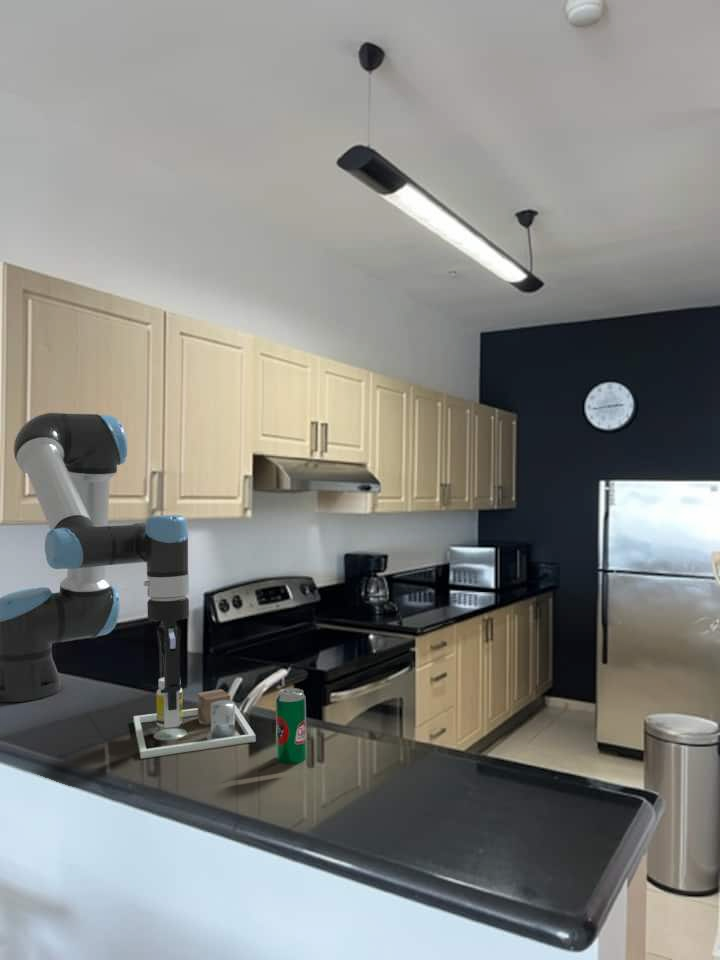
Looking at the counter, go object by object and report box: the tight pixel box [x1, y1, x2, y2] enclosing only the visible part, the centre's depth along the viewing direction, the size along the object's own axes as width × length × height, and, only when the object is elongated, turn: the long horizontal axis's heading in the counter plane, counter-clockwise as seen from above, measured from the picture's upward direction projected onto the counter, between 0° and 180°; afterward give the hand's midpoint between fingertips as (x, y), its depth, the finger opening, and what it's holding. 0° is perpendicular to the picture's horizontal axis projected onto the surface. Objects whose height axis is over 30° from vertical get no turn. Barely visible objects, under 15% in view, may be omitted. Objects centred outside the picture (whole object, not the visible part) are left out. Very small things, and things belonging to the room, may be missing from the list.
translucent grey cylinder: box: [210, 699, 236, 739], centre depth 132 cm, size 4×4×6 cm
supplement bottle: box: [155, 677, 183, 728], centre depth 134 cm, size 5×5×8 cm
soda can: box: [275, 687, 308, 765], centre depth 122 cm, size 5×5×12 cm
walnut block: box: [197, 688, 231, 726], centre depth 142 cm, size 5×5×5 cm
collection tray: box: [133, 704, 257, 760], centre depth 135 cm, size 20×20×2 cm
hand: (170, 721), depth 134 cm, fingers closed on supplement bottle, 5 cm apart
